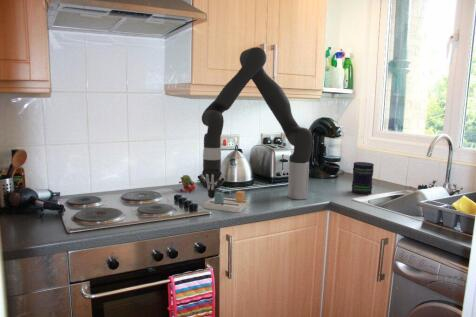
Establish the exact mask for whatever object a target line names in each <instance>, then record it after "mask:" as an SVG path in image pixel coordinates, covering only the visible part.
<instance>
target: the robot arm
mask: <svg viewBox="0 0 476 317" xmlns="http://www.w3.org/2000/svg"><path fill="white" fill-rule="evenodd" d="M239 63H240V65H241V67H240V69H239V70H238V71H237V73H236V74H235V75H234V76H233V77H232V78H231V79H230V80H229V81H228V82H227V83H226V84H225V85H224V86H223V88H222V89H221V91H220V92H219V93H218V94H217V96H216V98H215V99H214V100H213V101H212V102H211V103H210V104H209V106H207V108H206V109H204V111H203V113H202V114H201V122H202V124H203V125H204V126H206V127H207V131H206V133H205V134H204V136H203V150H202V172H201V174H199V175H197V179H198V180H199V182H200V183H201V185H202V186H203V188H206V189H207V196H208V198H209V199H212V198H214V197H215V193H216V190H217V189H219V188H220V187H221V186H222V185H223V184H224V182H225V181H226V180H227V177H226V176H224V175H222V151H221V144H222V143H221V136H222V132H223V127H224V122H225V121H224V115H223V113H224V112H226V111H228V110H229V109H231V107H232V105H233V104H234V103H235V101H236V100H237V98H238V97H239V96H240V94H241V92H242V91H243V90H244V89H245V87H246V86H247V84H248V83H249V82H250V81H252V82H253V84H254V85H255V86H256V88H257V90H258V92H259V93H260V96H262V98H263V100H264V102H265V104H266V105H267V106H268V108H269V109H270V111H271V113H272V114H273V116H274V117H275V119H276V121H277V122H278V124H279V126H280V127H281V130H282V131H283V133H284V135H285V137H286V139H287V141H288V142H289V144H290V145H292V146H293V153H292V154H290V155H289V156H288V157H289V158H288V159H289V161H288V184H287V197H288V198H289V199H292V200H306V199H308V193H309V191H308V190H309V175H310V174H309V173H310V172H309V171H310V159H311V156H312V153H313V152H312V149H313V141H314V140H313V134H312V131H311V130H310V129H309V128H306V127H301V126H300V125H299V124H298V122H297V121H296V119H295V118H294V116H293V113H292V109H291V103H290V100H289V98H288V97H287V95H286V93H285V92H284V90H283V89H282V86H280V85H279V84H278V83H277V82H276V81H275V80H274V79H272V78H271V76H269V75H268V74H267V73H266V70H265V69H264V66H265V64H266V63H267V54H266V51H265V50H264V49H263V48H261V47H259V46H254V47H251V48H247V49H245V50H243V51H242V52H241V53H240V56H239ZM218 180H219V182H218Z"/></svg>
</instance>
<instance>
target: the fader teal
mask: <svg viewBox="0 0 476 317" xmlns="http://www.w3.org/2000/svg"><path fill="white" fill-rule="evenodd" d="M224 198H225V192H220V191H217V192H215V200H214V203H220V204H221V203H223V202H224Z"/></svg>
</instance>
